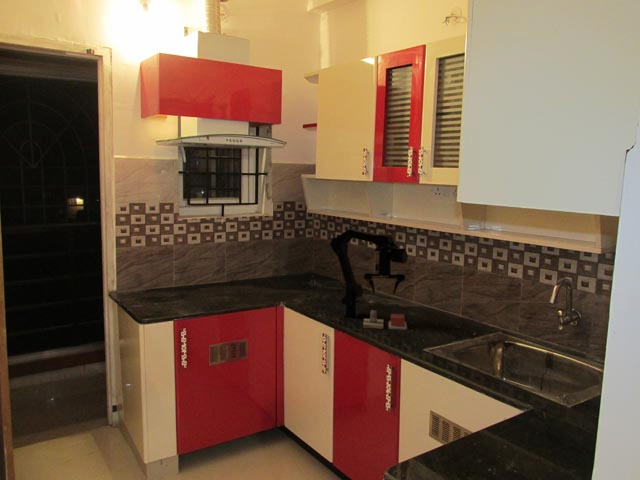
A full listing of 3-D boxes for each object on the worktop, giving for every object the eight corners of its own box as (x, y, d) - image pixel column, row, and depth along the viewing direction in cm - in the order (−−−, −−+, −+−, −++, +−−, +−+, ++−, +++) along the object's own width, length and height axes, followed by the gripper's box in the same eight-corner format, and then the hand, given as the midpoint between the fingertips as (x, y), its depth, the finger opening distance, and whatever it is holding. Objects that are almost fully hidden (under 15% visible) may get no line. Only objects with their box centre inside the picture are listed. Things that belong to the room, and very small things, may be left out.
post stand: (364, 321, 254) (364, 308, 253) (383, 322, 253) (383, 308, 252) (363, 327, 244) (363, 313, 243) (383, 328, 243) (383, 314, 242)
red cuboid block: (390, 326, 244) (391, 317, 244) (390, 322, 250) (390, 313, 250) (404, 326, 244) (404, 317, 243) (403, 322, 249) (404, 314, 249)
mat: (388, 322, 252) (388, 320, 252) (406, 323, 251) (406, 321, 251) (388, 328, 243) (388, 327, 242) (406, 329, 242) (406, 327, 241)
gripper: (404, 258, 257) (403, 290, 260) (365, 257, 260) (364, 289, 262) (405, 263, 247) (404, 296, 249) (364, 261, 249) (363, 295, 251)
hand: (384, 294), depth 253 cm, fingers open, 9 cm apart
